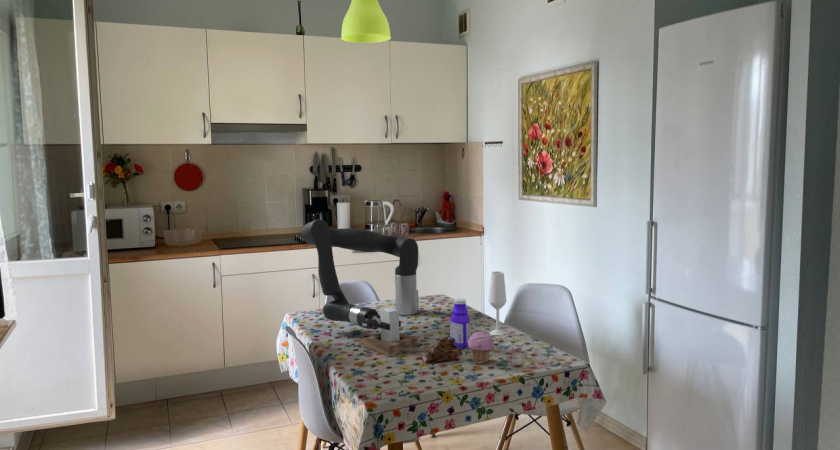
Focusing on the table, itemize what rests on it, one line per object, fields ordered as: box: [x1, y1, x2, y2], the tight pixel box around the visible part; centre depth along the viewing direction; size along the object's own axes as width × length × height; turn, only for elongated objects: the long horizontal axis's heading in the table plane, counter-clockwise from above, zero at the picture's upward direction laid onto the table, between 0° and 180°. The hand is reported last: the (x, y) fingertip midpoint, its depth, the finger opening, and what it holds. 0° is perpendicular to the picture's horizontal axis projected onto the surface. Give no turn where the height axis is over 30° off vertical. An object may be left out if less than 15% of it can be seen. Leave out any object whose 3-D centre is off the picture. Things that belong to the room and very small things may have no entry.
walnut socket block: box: [362, 332, 418, 357], centre depth 232 cm, size 14×14×4 cm
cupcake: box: [468, 331, 495, 364], centre depth 215 cm, size 9×9×10 cm
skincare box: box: [379, 307, 400, 343], centre depth 231 cm, size 6×4×12 cm
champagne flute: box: [488, 270, 507, 336], centre depth 245 cm, size 7×7×24 cm
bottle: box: [449, 297, 471, 349], centre depth 231 cm, size 7×6×17 cm
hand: (394, 325), depth 229 cm, fingers closed on skincare box, 4 cm apart
